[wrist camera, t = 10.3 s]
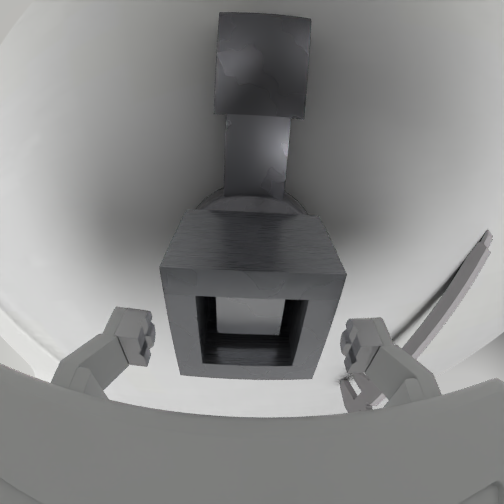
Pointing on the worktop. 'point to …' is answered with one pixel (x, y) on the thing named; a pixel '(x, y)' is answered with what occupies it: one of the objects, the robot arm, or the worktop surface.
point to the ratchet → (257, 134)
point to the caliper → (423, 327)
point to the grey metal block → (250, 291)
